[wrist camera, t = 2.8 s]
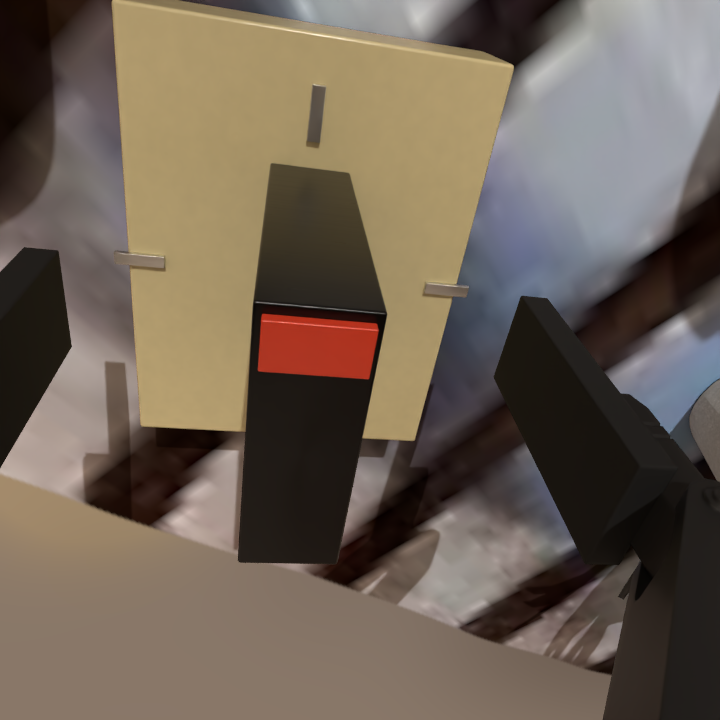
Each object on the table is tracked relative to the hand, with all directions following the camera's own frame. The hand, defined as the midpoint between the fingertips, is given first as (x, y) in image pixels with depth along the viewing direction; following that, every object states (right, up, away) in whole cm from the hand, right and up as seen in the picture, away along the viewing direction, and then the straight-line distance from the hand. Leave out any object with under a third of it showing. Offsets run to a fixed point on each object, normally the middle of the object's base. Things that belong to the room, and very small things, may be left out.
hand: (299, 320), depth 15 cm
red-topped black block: (0, +2, +2) cm, 3 cm away
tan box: (-1, +3, +5) cm, 6 cm away
